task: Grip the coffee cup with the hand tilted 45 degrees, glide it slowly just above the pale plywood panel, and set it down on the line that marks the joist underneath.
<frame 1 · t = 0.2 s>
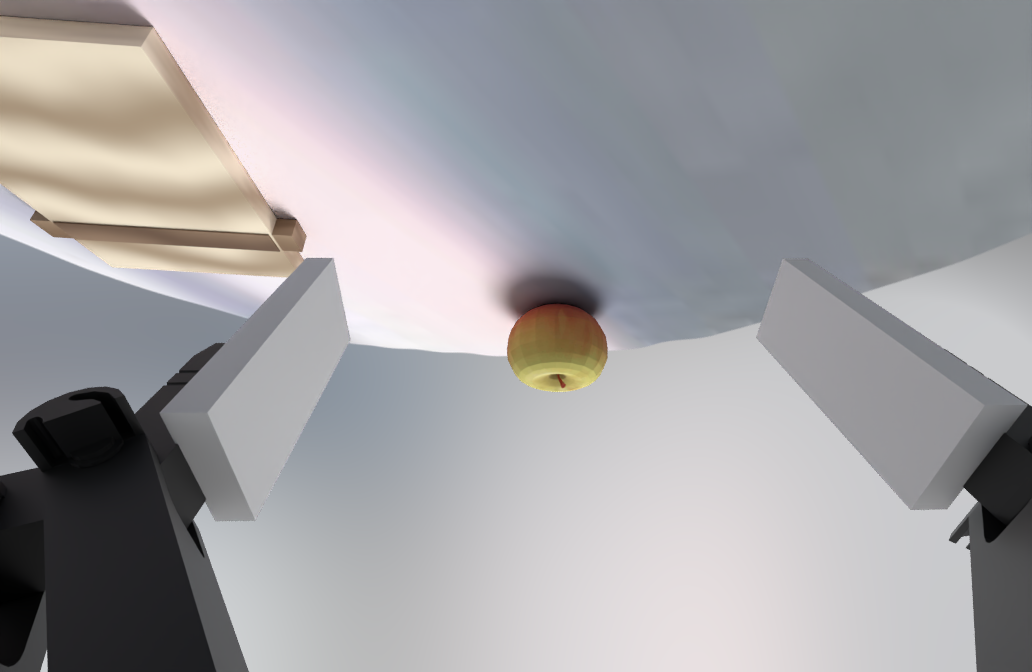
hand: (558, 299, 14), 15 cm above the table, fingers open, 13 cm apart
subfloor panel: (131, 172, 31), on the table
apple: (557, 313, 47), on the table
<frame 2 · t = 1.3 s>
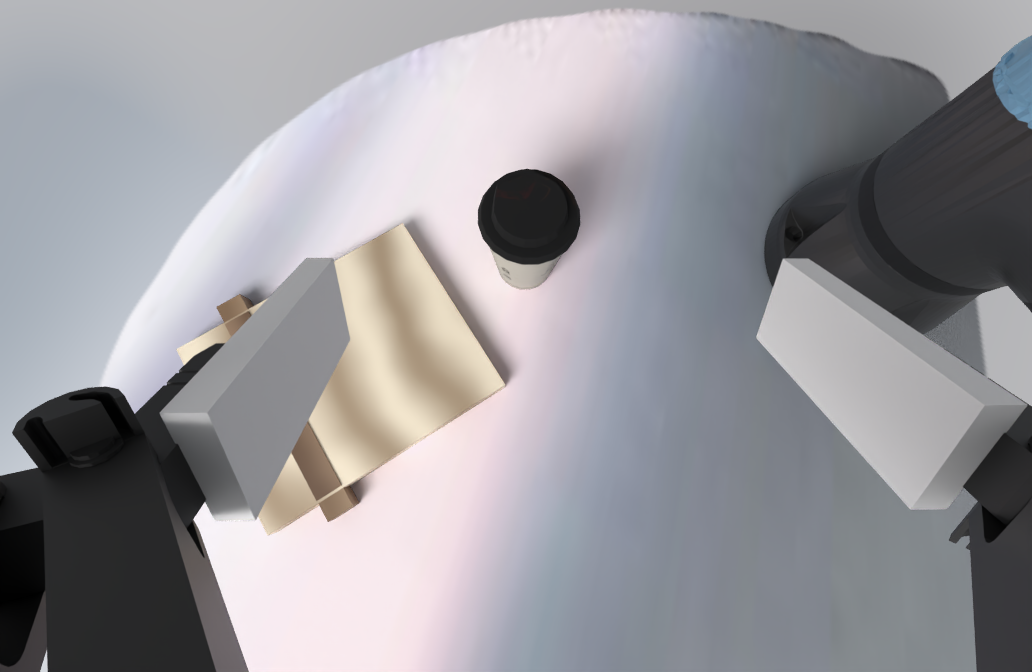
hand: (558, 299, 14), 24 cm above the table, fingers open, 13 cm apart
subfloor panel: (347, 369, 37), on the table
coffee cup: (524, 265, 39), on the table
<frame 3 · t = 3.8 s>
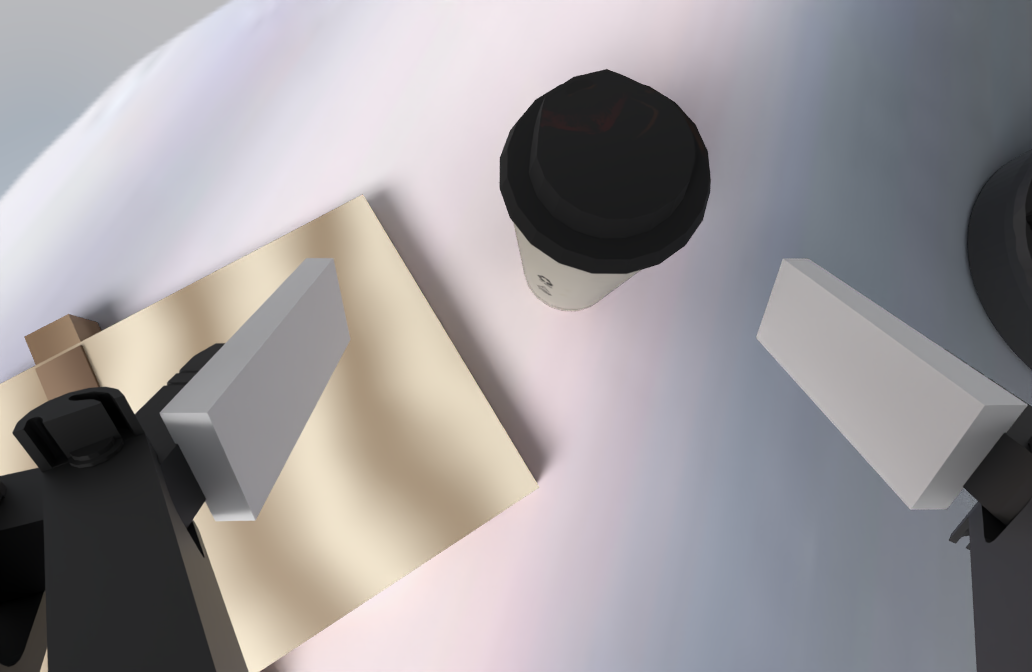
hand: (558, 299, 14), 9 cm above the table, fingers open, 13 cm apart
subfloor panel: (259, 449, 21), on the table
coffee cup: (568, 269, 24), on the table
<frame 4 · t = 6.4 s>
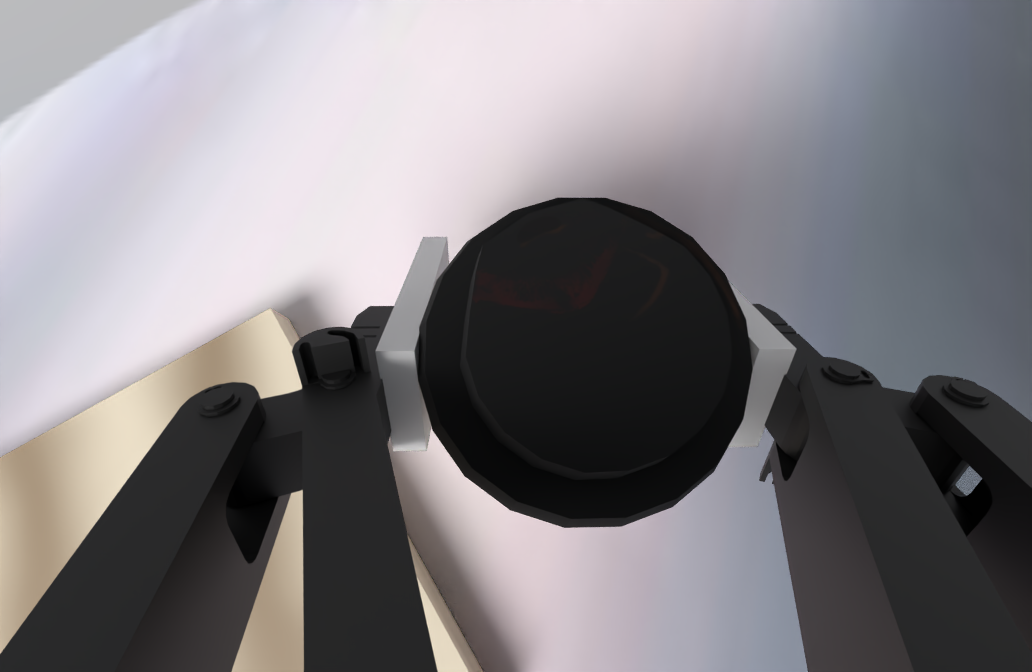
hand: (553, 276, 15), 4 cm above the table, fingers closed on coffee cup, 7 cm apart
subfloor panel: (122, 668, 15), on the table
coffee cup: (545, 394, 18), on the table, touching gripper
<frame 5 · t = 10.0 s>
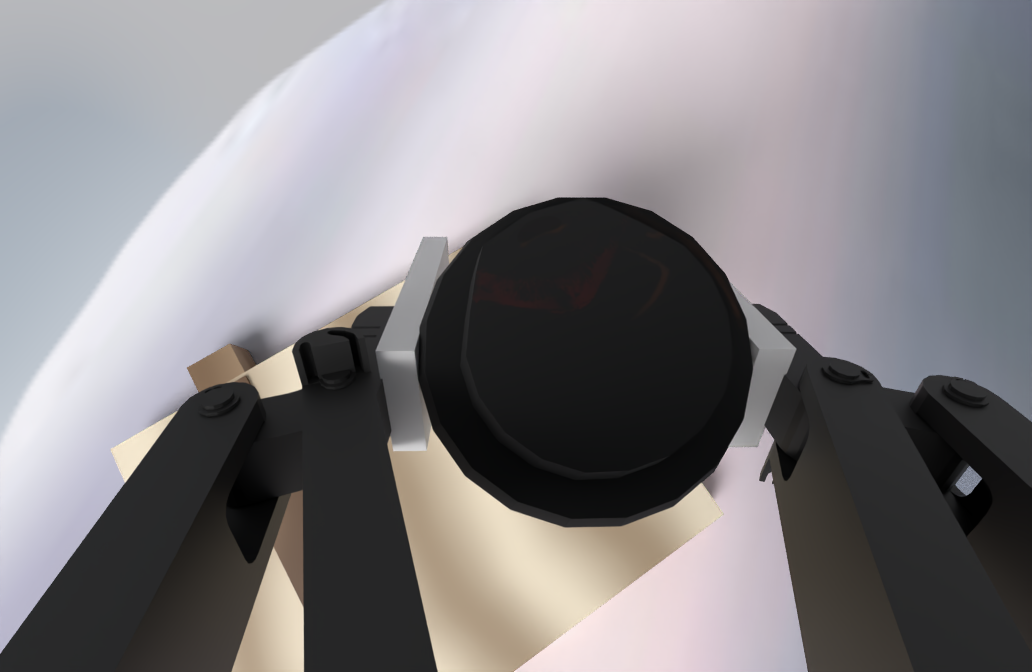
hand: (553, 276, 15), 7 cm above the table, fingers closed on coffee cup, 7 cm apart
subfloor panel: (423, 479, 20), on the table
coffee cup: (545, 394, 18), point 3 cm above the table, touching gripper
when the fingers open (6 cm above the table, at t = 13.5 s): coffee cup stays where it is, resting on subfloor panel.
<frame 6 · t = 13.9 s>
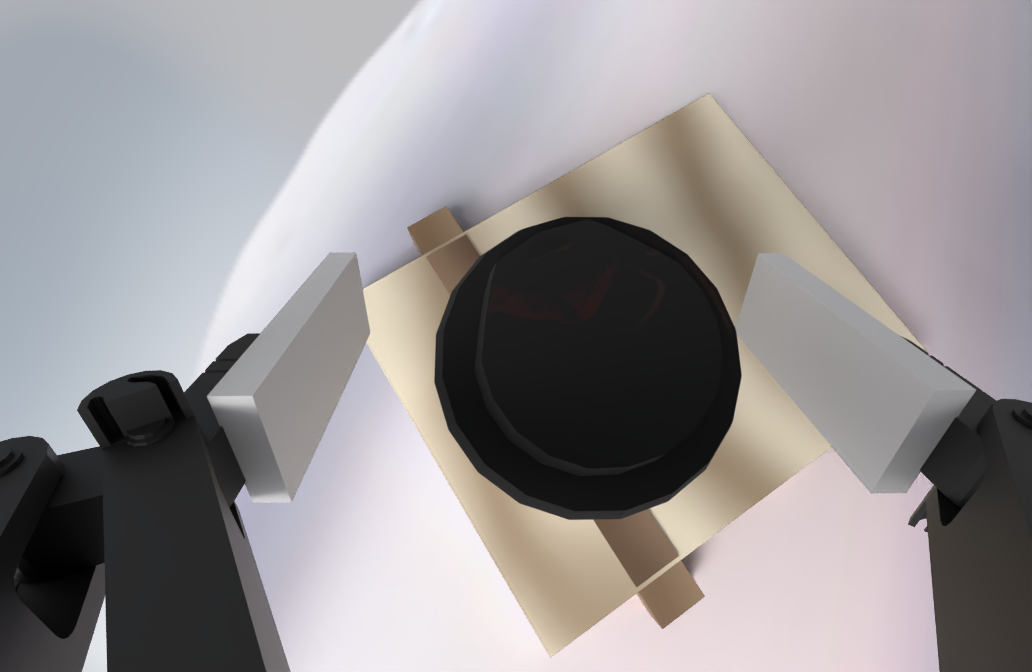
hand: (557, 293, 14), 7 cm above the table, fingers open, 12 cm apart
subfloor panel: (631, 341, 21), on the table
coffee cup: (547, 398, 19), point 1 cm above the table, touching subfloor panel
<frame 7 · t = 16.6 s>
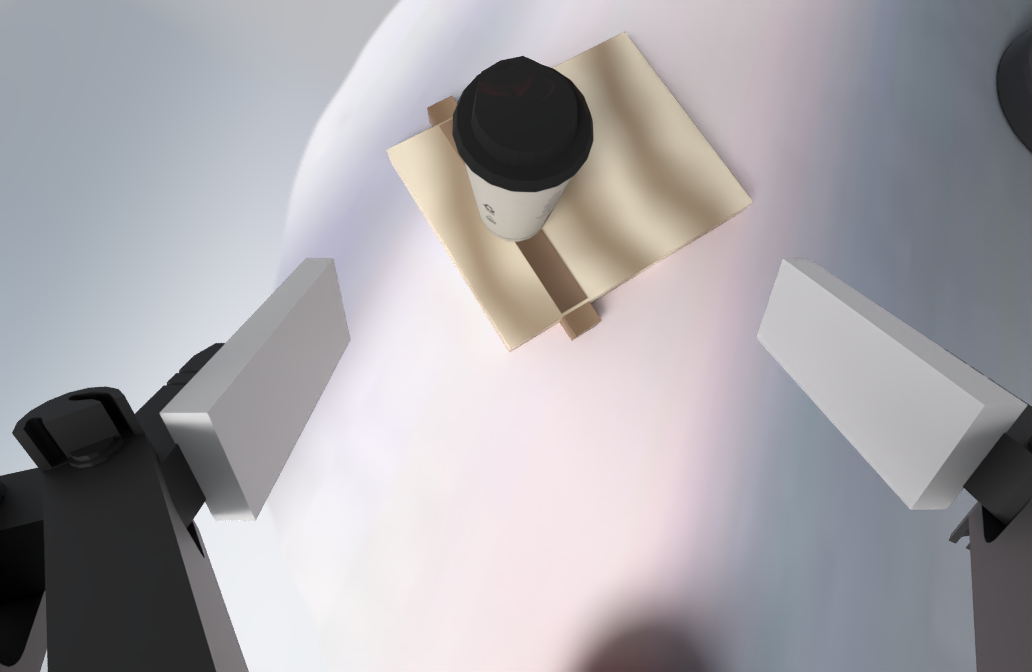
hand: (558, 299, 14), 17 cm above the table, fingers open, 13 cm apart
subfloor panel: (568, 187, 33), on the table
coffee cup: (513, 211, 31), point 1 cm above the table, touching subfloor panel
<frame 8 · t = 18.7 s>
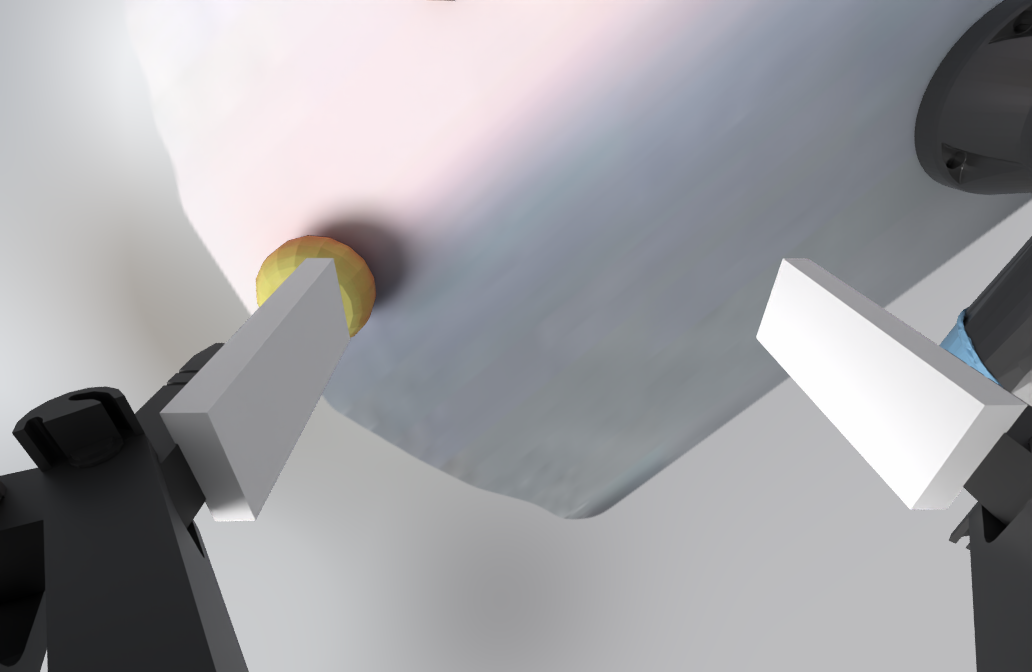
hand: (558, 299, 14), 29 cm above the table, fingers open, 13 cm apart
apple: (332, 273, 44), on the table
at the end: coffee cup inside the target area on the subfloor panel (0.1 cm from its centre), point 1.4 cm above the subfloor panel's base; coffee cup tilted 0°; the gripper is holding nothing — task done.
